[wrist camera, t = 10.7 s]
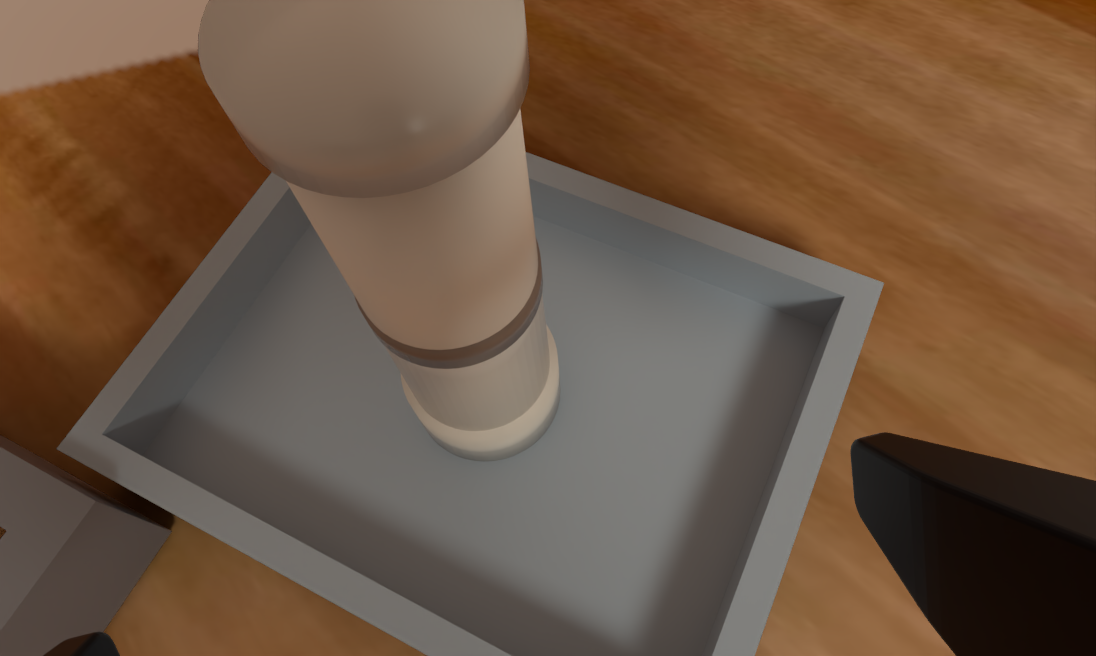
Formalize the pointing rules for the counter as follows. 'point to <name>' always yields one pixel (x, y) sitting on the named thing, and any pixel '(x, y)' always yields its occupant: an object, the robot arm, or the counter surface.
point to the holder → (63, 554)
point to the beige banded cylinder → (409, 188)
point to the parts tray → (524, 479)
